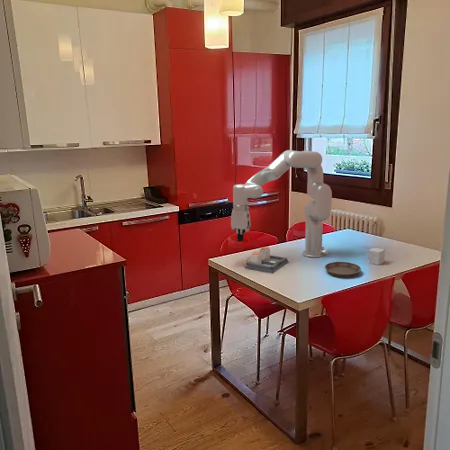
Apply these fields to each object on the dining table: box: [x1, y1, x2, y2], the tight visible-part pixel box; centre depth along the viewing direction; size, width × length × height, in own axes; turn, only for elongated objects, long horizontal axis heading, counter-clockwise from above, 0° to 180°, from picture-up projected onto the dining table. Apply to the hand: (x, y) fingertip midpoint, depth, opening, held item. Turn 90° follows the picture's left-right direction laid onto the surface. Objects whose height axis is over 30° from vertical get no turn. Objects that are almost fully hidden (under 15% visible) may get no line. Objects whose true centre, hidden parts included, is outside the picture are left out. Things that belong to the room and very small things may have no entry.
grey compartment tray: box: [244, 254, 289, 274], centre depth 234 cm, size 16×20×3 cm
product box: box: [368, 247, 386, 266], centre depth 232 cm, size 6×6×7 cm
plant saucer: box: [324, 261, 362, 279], centre depth 220 cm, size 18×18×3 cm
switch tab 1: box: [250, 251, 262, 265], centre depth 232 cm, size 4×5×6 cm
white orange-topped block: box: [259, 246, 271, 259], centre depth 240 cm, size 4×5×6 cm
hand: (240, 240), depth 234 cm, fingers closed
